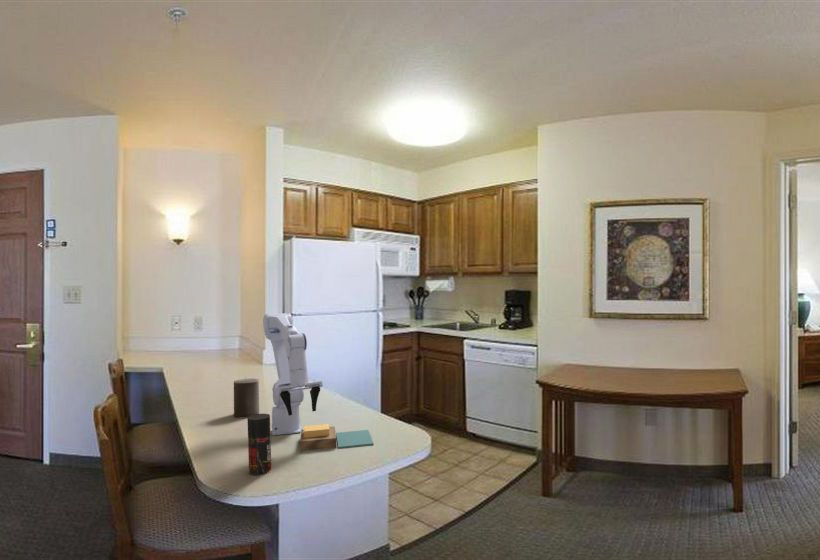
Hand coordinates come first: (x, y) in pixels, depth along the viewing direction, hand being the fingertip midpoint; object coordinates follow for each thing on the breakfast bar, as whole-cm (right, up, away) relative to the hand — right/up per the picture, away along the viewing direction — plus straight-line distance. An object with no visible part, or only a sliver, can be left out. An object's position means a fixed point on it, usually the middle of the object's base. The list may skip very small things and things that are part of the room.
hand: (302, 413), depth 146 cm
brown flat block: (+5, -10, +1) cm, 11 cm away
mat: (+16, -10, +4) cm, 19 cm away
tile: (+4, -7, +1) cm, 8 cm away
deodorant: (-7, -10, -19) cm, 23 cm away
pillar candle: (-31, -12, +38) cm, 50 cm away
